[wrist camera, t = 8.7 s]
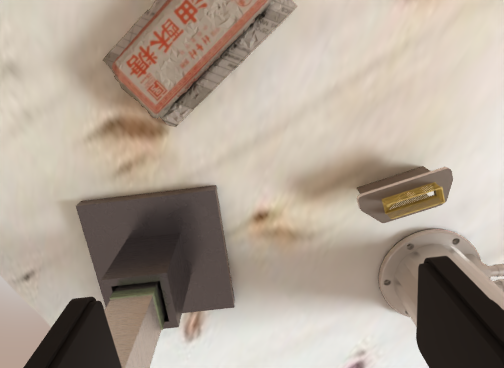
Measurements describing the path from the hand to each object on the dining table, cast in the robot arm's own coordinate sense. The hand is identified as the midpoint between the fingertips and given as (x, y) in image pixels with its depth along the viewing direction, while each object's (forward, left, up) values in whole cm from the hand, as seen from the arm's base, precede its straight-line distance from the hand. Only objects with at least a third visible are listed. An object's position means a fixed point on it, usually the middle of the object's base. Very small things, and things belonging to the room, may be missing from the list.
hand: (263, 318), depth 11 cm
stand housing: (+13, +15, -32) cm, 38 cm away
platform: (-16, +9, -33) cm, 38 cm away
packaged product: (+4, -10, -33) cm, 35 cm away
